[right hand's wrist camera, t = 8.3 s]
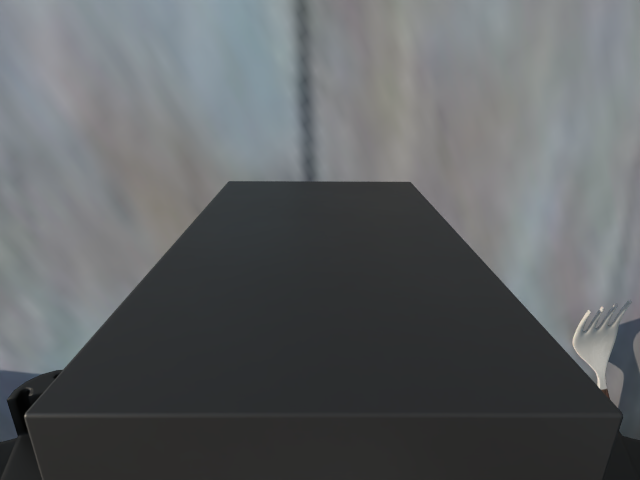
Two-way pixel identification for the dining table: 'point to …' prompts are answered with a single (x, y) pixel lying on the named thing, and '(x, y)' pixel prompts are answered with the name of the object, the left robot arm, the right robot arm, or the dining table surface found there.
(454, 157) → the dining table surface
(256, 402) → the box
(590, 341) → the fork
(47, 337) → the dining table surface
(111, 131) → the dining table surface
